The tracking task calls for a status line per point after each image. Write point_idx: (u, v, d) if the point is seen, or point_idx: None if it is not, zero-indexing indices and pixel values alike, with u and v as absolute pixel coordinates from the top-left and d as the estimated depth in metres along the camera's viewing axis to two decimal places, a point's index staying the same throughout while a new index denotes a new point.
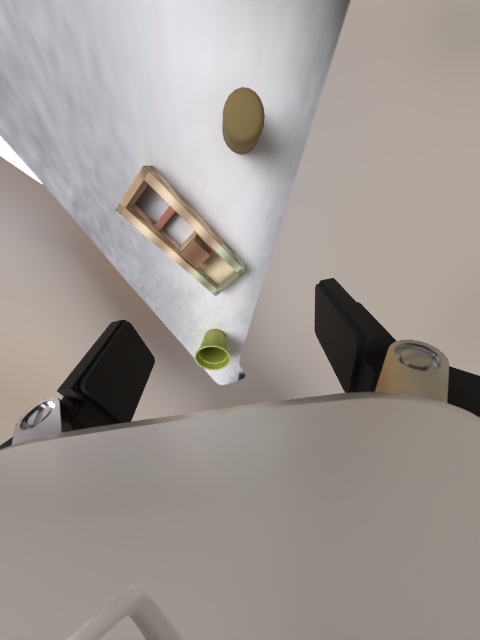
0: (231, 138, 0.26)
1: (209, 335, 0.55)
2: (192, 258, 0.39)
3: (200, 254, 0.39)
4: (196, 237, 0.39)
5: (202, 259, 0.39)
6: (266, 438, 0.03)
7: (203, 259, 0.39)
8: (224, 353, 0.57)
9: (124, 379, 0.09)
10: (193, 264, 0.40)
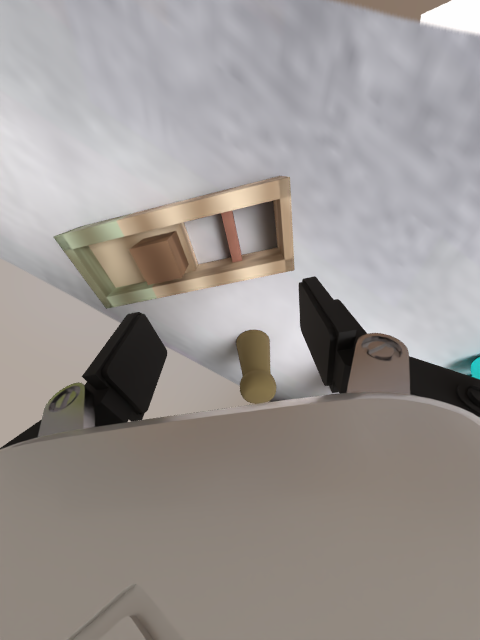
0: (253, 381, 0.27)
1: None
2: (152, 256, 0.20)
3: (155, 273, 0.21)
4: None
5: (144, 270, 0.21)
6: (266, 439, 0.03)
7: (144, 272, 0.21)
8: None
9: (141, 368, 0.09)
10: (140, 250, 0.20)
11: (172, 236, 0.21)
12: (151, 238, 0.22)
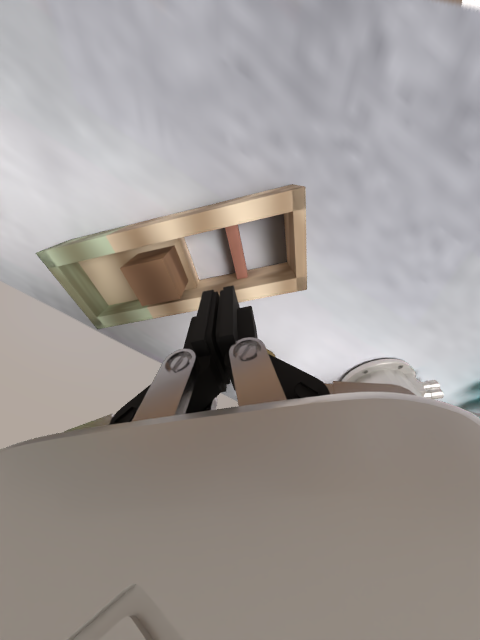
0: None
1: None
2: (146, 275, 0.18)
3: (149, 293, 0.19)
4: None
5: (137, 291, 0.19)
6: (266, 439, 0.03)
7: (137, 292, 0.19)
8: None
9: None
10: (132, 269, 0.18)
11: (169, 252, 0.19)
12: (146, 254, 0.20)
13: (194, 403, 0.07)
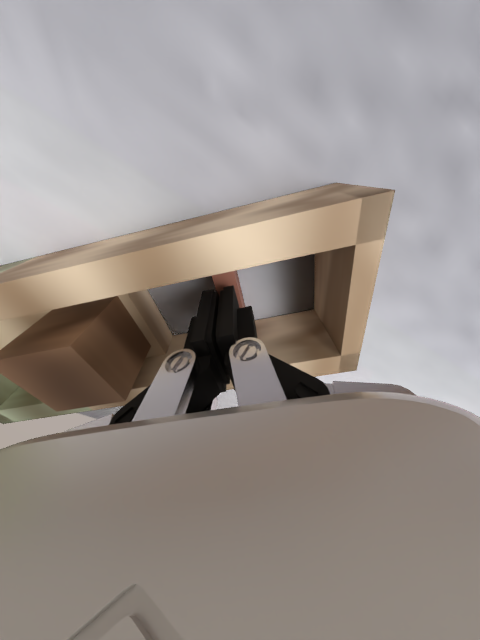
0: None
1: None
2: (45, 372, 0.09)
3: (63, 396, 0.10)
4: None
5: (38, 393, 0.10)
6: (266, 439, 0.03)
7: (39, 395, 0.10)
8: None
9: None
10: (11, 363, 0.08)
11: (99, 318, 0.10)
12: (61, 315, 0.10)
13: (194, 403, 0.07)
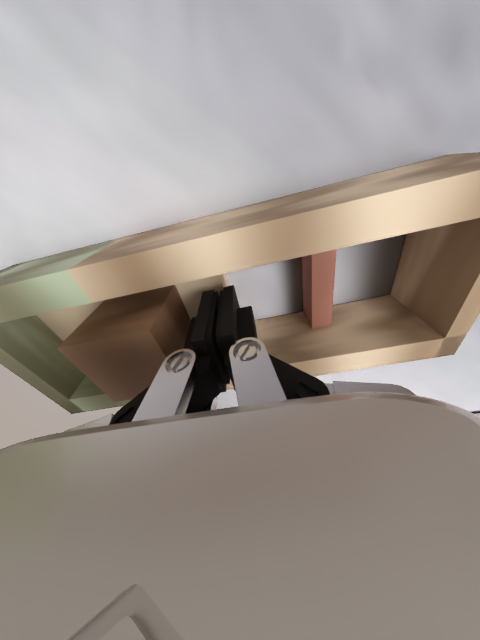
0: None
1: None
2: (116, 359, 0.08)
3: (126, 385, 0.10)
4: None
5: (102, 382, 0.09)
6: (266, 439, 0.03)
7: (102, 384, 0.09)
8: None
9: None
10: (84, 349, 0.08)
11: (165, 305, 0.09)
12: (120, 303, 0.10)
13: (194, 403, 0.07)
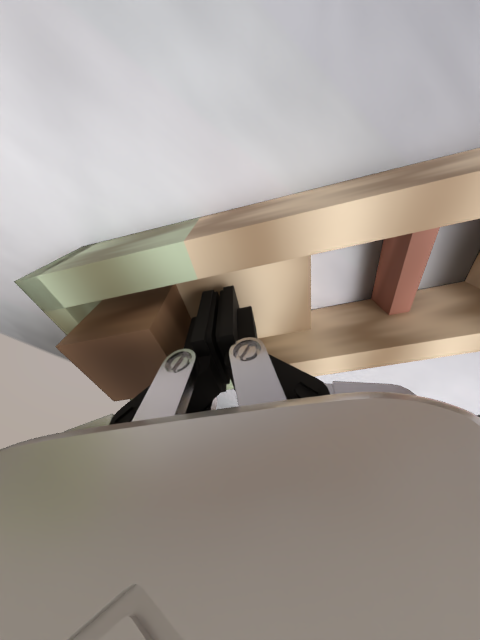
0: None
1: None
2: (115, 357, 0.08)
3: (126, 384, 0.09)
4: None
5: (101, 381, 0.09)
6: (266, 439, 0.03)
7: (102, 383, 0.09)
8: None
9: None
10: (83, 348, 0.08)
11: (165, 303, 0.09)
12: (120, 302, 0.10)
13: (194, 403, 0.07)
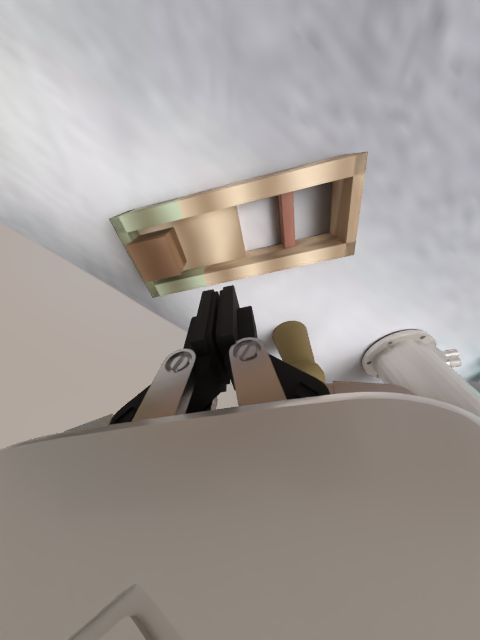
0: None
1: None
2: (149, 252, 0.20)
3: (152, 270, 0.21)
4: None
5: (141, 267, 0.21)
6: (266, 439, 0.03)
7: (141, 269, 0.21)
8: None
9: None
10: (136, 246, 0.20)
11: (170, 232, 0.21)
12: (148, 234, 0.22)
13: (194, 403, 0.07)
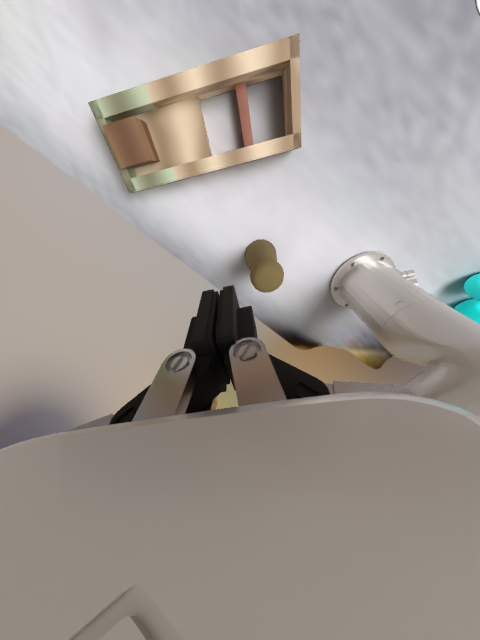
0: (263, 263, 0.29)
1: None
2: (122, 133, 0.23)
3: (126, 154, 0.25)
4: (154, 161, 0.27)
5: (116, 151, 0.24)
6: (266, 439, 0.03)
7: (117, 152, 0.24)
8: None
9: None
10: (111, 127, 0.23)
11: (141, 120, 0.24)
12: None
13: (194, 403, 0.07)
